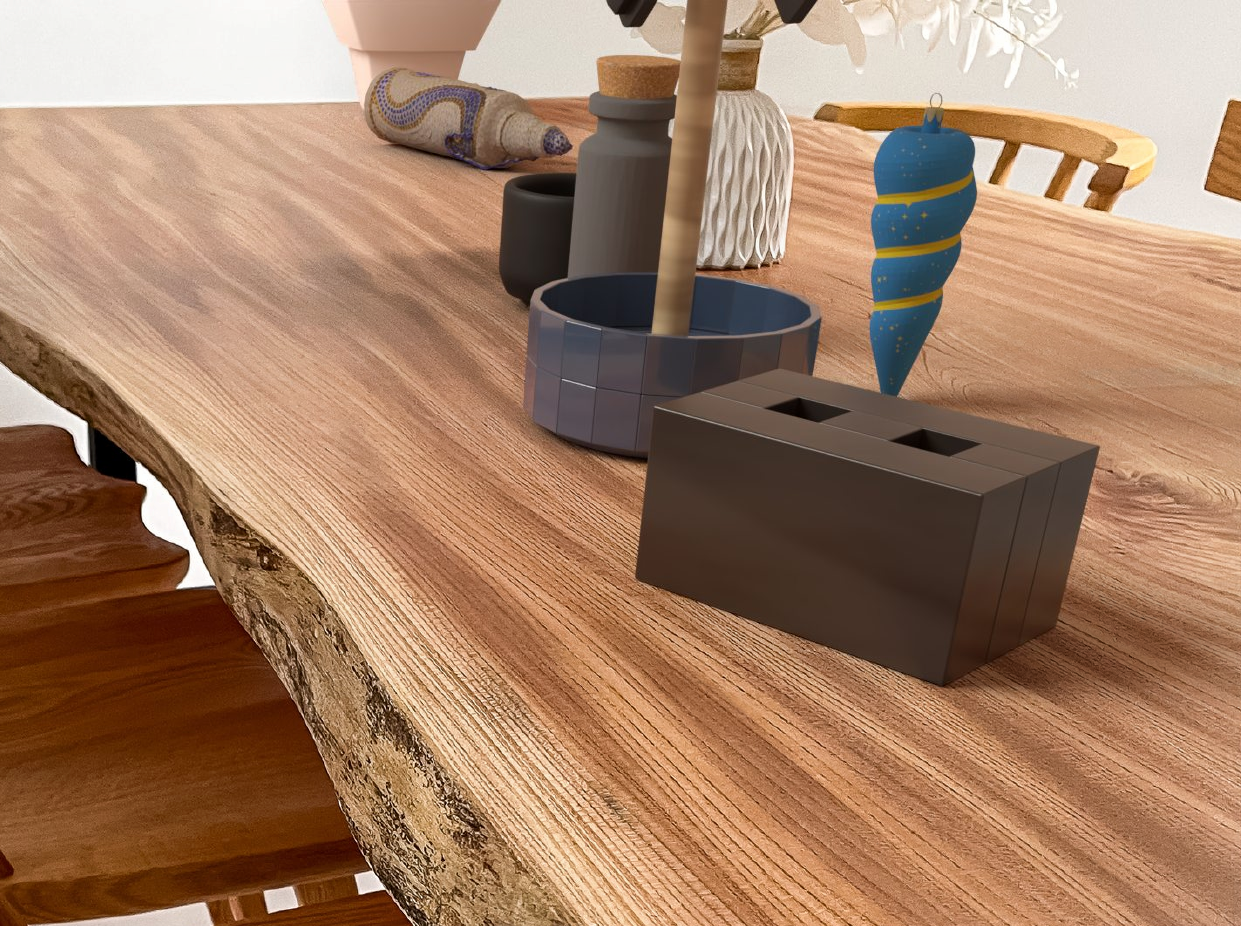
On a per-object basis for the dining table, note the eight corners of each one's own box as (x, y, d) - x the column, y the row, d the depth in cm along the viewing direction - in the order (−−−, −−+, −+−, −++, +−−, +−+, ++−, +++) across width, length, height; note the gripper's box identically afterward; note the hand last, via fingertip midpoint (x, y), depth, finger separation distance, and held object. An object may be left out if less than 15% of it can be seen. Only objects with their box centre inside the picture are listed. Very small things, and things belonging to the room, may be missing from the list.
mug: (486, 287, 114) (493, 171, 111) (621, 287, 115) (633, 172, 111) (516, 334, 104) (525, 208, 100) (664, 334, 105) (679, 209, 101)
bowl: (297, 107, 187) (297, -40, 180) (473, 106, 190) (480, -38, 183) (327, 133, 171) (328, -27, 164) (517, 132, 175) (528, -25, 167)
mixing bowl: (638, 372, 97) (649, 260, 94) (856, 429, 89) (877, 307, 85) (466, 419, 89) (473, 297, 86) (689, 486, 80) (705, 354, 77)
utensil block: (755, 532, 75) (779, 368, 71) (1056, 626, 67) (1101, 445, 63) (633, 579, 70) (652, 405, 66) (942, 687, 62) (983, 494, 58)
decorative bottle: (357, 145, 165) (359, 67, 162) (422, 140, 169) (425, 64, 165) (526, 187, 147) (532, 101, 143) (594, 181, 150) (602, 97, 147)
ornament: (889, 418, 90) (946, 102, 83) (815, 394, 94) (863, 90, 86) (956, 404, 93) (1017, 96, 85) (881, 381, 96) (933, 84, 89)
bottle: (681, 338, 104) (714, 60, 96) (624, 356, 100) (653, 69, 92) (600, 320, 107) (626, 50, 99) (543, 336, 103) (564, 58, 96)
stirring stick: (657, 405, 89) (704, -11, 80) (686, 413, 88) (736, -9, 78) (636, 411, 88) (680, -10, 78) (664, 419, 87) (712, -7, 77)
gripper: (510, -369, 75) (625, -50, 72) (785, -352, 80) (903, -53, 77) (449, -220, 82) (552, 76, 79) (706, -213, 87) (811, 67, 84)
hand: (725, 12), depth 78 cm, fingers open, 8 cm apart
